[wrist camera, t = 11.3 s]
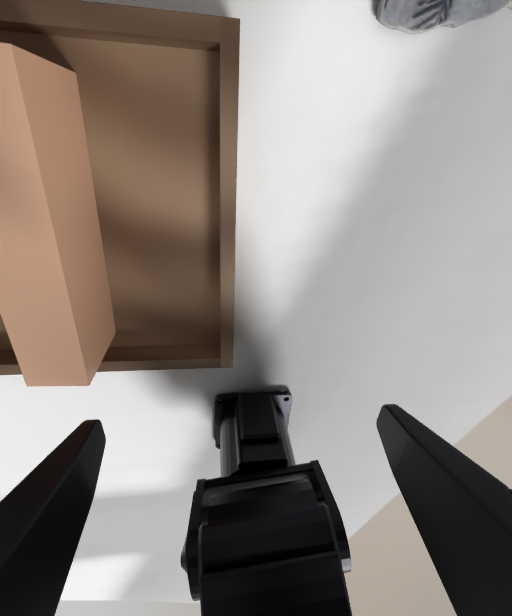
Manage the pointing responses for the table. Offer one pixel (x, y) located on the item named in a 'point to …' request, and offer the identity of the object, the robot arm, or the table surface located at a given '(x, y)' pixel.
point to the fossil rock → (434, 13)
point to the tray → (152, 169)
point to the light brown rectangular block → (49, 226)
